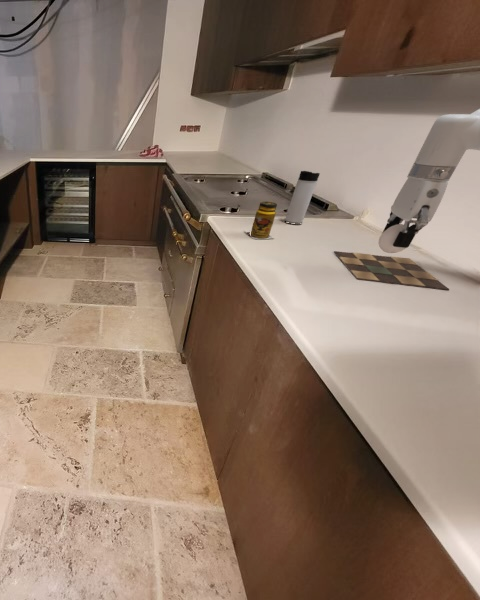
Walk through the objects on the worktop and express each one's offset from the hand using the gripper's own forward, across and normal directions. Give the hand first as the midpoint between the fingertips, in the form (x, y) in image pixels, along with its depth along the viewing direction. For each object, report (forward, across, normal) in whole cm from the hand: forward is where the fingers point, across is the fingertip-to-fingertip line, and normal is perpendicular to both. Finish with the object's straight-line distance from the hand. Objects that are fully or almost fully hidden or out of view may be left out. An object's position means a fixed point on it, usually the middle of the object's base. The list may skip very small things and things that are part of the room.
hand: (393, 241), depth 87 cm
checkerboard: (+9, +2, -2) cm, 10 cm away
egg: (+3, 0, 0) cm, 3 cm away
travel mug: (+9, +42, +14) cm, 46 cm away
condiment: (+9, +22, +29) cm, 38 cm away
